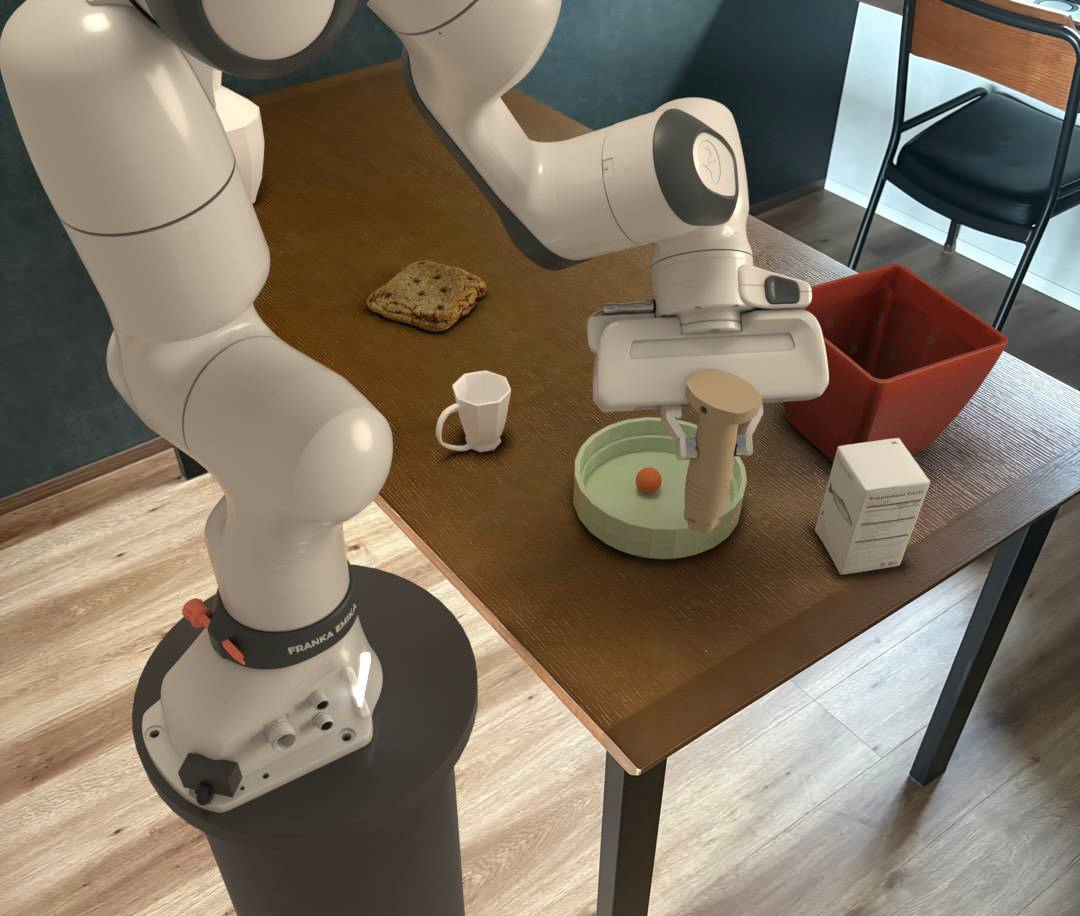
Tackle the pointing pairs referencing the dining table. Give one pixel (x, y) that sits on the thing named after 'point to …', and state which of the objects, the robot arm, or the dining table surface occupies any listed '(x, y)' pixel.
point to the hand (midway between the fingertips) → (715, 457)
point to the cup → (478, 410)
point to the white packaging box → (871, 505)
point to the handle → (715, 442)
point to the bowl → (640, 517)
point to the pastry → (427, 295)
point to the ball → (648, 480)
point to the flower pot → (893, 361)
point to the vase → (241, 132)
